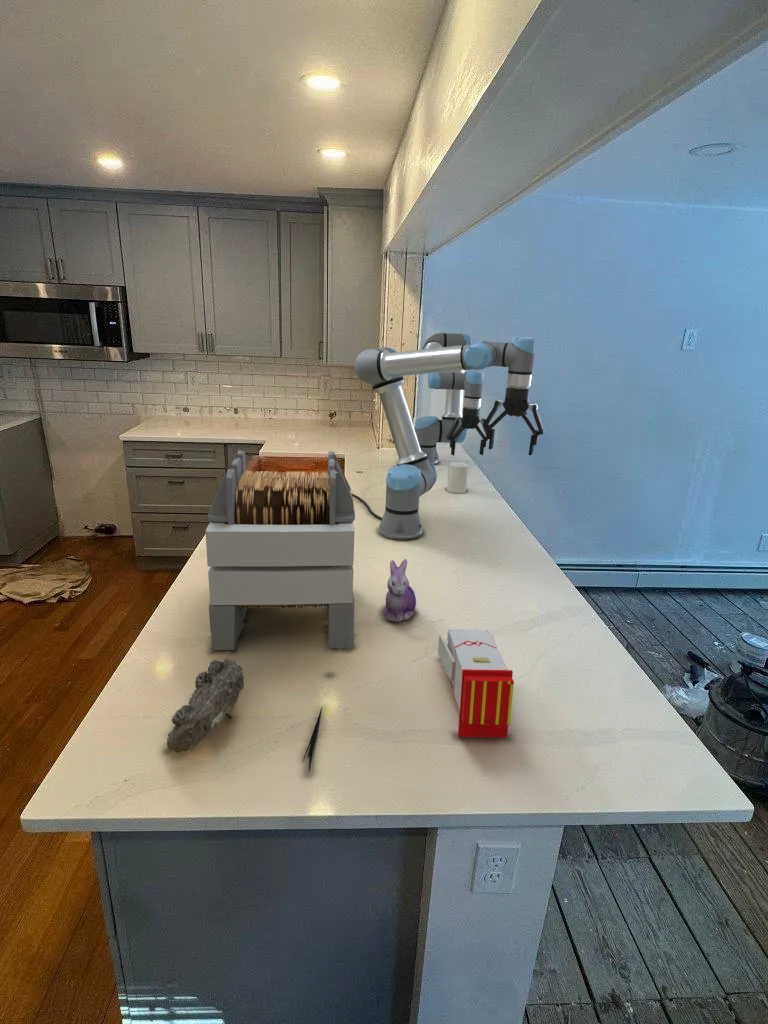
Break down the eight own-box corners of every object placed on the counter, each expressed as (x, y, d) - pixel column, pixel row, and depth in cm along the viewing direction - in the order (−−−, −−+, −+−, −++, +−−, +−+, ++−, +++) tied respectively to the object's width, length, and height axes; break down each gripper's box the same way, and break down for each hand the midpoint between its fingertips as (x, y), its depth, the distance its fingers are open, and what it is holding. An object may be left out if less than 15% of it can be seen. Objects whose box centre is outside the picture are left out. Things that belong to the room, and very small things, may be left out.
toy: (488, 613, 130) (523, 677, 101) (484, 667, 133) (517, 744, 104) (435, 612, 130) (455, 676, 101) (432, 666, 133) (451, 743, 103)
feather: (331, 679, 122) (336, 673, 122) (307, 777, 96) (313, 769, 95) (324, 675, 122) (329, 669, 121) (298, 772, 95) (304, 764, 95)
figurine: (392, 627, 141) (395, 572, 136) (374, 608, 149) (376, 556, 144) (425, 619, 145) (429, 566, 140) (405, 601, 154) (408, 550, 149)
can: (468, 489, 253) (471, 463, 249) (462, 494, 246) (464, 468, 242) (451, 486, 257) (453, 460, 253) (443, 491, 250) (446, 464, 246)
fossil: (192, 660, 117) (244, 628, 112) (224, 691, 120) (276, 661, 115) (142, 746, 98) (202, 712, 93) (182, 779, 101) (242, 748, 96)
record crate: (231, 583, 159) (223, 441, 145) (347, 582, 163) (350, 443, 149) (209, 653, 127) (196, 479, 114) (354, 649, 131) (359, 481, 117)
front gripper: (559, 389, 181) (550, 454, 188) (484, 382, 191) (478, 444, 198) (555, 392, 174) (545, 459, 182) (477, 384, 185) (471, 448, 192)
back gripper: (447, 409, 241) (442, 457, 249) (501, 409, 247) (496, 456, 254) (441, 405, 248) (438, 452, 256) (495, 406, 253) (489, 452, 261)
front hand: (510, 451), depth 190 cm, fingers open, 13 cm apart
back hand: (466, 454), depth 255 cm, fingers open, 13 cm apart
